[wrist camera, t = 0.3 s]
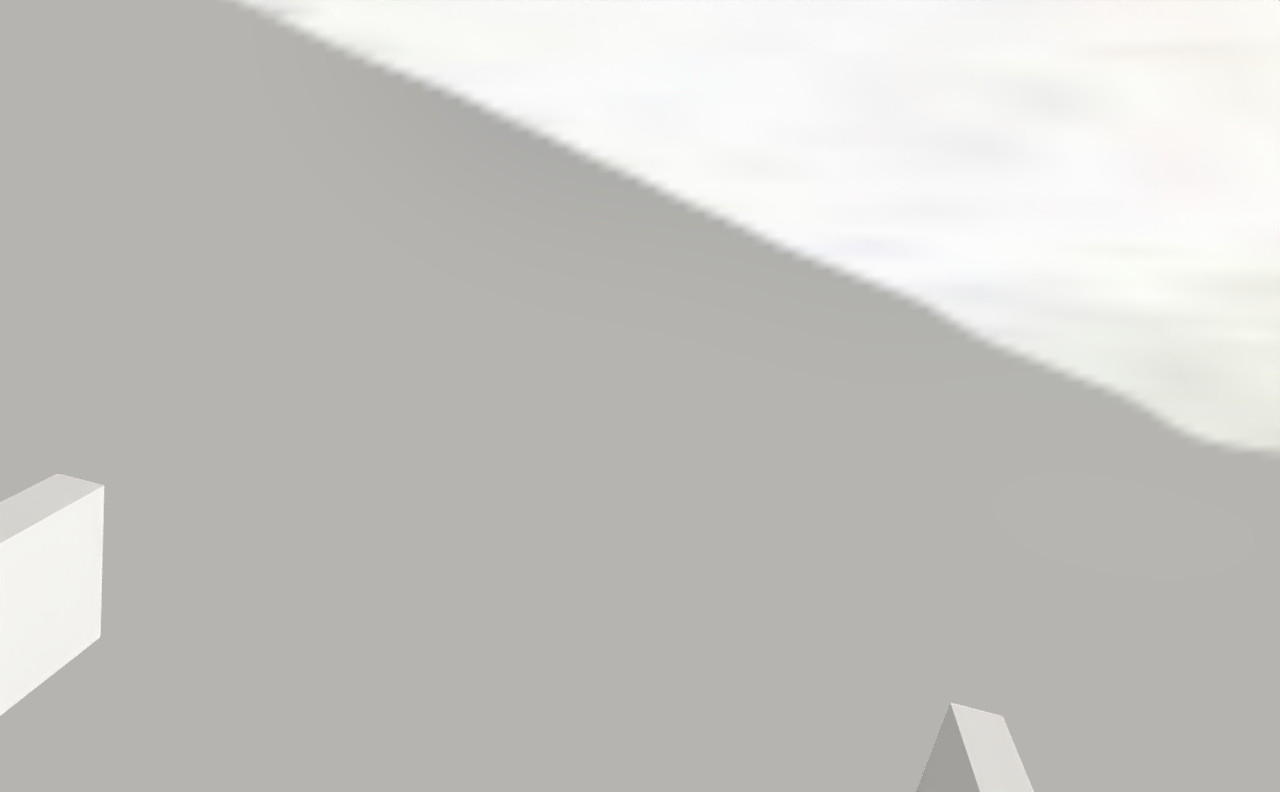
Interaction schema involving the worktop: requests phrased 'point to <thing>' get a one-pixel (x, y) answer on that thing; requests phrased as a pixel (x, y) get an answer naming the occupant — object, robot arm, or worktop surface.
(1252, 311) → the worktop surface
